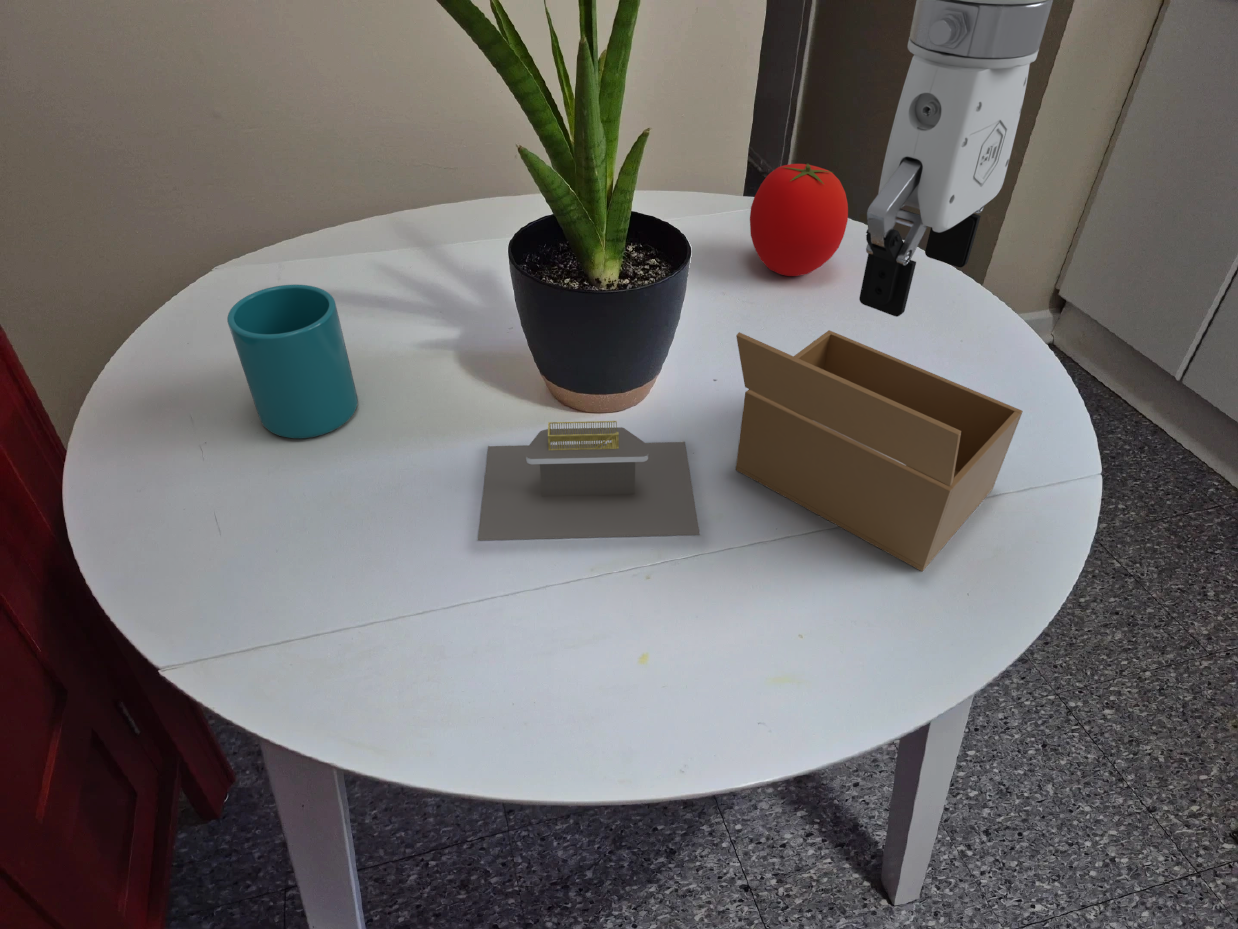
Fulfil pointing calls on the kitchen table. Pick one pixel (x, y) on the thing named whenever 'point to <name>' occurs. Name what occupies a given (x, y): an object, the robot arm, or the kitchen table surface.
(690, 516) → the platform
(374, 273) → the kitchen table surface
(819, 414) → the flap
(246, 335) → the cup
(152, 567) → the kitchen table surface
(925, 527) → the carton
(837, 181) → the tomato
